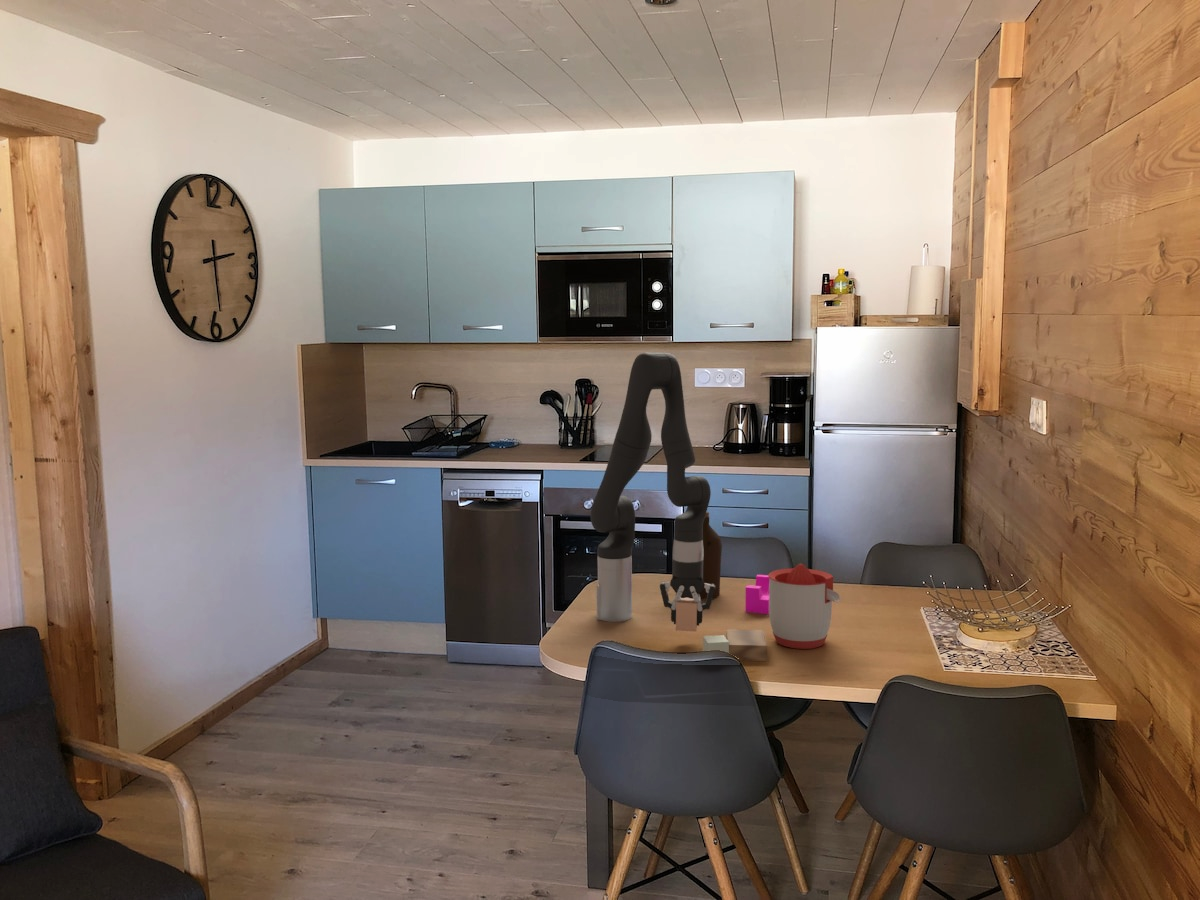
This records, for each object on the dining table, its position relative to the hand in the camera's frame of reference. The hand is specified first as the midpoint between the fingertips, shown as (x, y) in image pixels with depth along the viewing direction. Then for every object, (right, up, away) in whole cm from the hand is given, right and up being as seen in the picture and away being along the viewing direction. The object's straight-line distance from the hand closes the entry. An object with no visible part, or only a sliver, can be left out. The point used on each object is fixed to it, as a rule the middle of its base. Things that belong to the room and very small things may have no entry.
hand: (686, 623), depth 235 cm
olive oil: (+9, 0, +42) cm, 43 cm away
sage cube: (+6, -6, -12) cm, 14 cm away
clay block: (0, -1, 0) cm, 1 cm away
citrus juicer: (+29, -5, -1) cm, 29 cm away
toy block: (+24, -1, +31) cm, 39 cm away
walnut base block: (+14, -6, -7) cm, 16 cm away
